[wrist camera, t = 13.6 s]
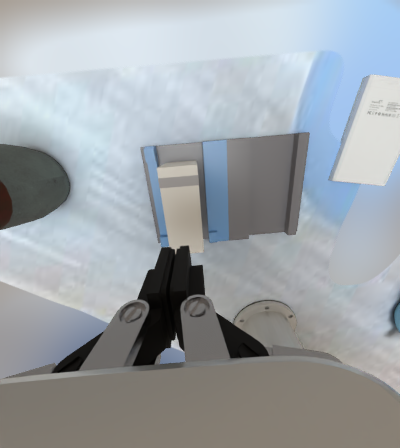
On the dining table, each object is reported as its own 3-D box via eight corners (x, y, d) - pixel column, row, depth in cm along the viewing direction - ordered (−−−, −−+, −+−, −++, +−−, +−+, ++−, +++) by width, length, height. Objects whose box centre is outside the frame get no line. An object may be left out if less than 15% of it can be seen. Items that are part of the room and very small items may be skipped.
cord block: (201, 228, 28) (204, 252, 22) (175, 230, 28) (170, 255, 22) (196, 160, 25) (197, 164, 18) (166, 162, 25) (156, 168, 18)
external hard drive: (325, 179, 28) (361, 78, 23) (376, 184, 28) (421, 86, 23) (332, 181, 26) (372, 73, 21) (386, 186, 27) (436, 82, 22)
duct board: (294, 228, 30) (303, 235, 27) (159, 240, 30) (156, 248, 27) (306, 133, 24) (318, 131, 22) (142, 147, 24) (136, 147, 22)
